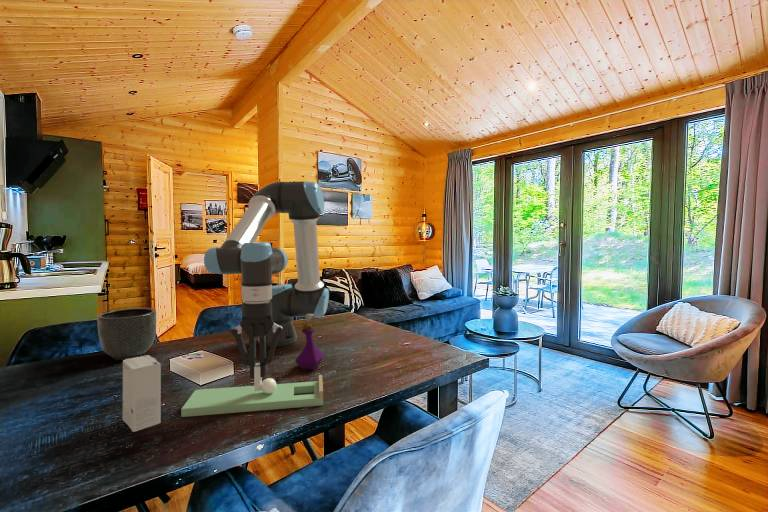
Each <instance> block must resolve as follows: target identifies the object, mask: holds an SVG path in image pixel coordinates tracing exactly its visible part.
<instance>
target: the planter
mask: <svg viewBox="0 0 768 512" xmlns="http://www.w3.org/2000/svg"><path fill="white" fill-rule="evenodd" d="M96 321H97V333H98V338H99V339H98V340H99V343H100V346H101V348H102V350H103V352H104V353H105V354H107V355H108V356H110V357H112V358H113V360H114V359H117V360H123V359H130V358H135V357H139V356H141V355H143V354H144V355H146V352H147V351H148V350H149V349H151V347H152V346H153V345H154V341H155V339H156V335H157V334H156V333H157V323H158V322H157V321H158V320H157V310H156V309H154V308H151V307H150V308H148V307H145V308H144V307H137V308H124V309H123V308H122V309H117V310H111V311H107V312H102V313H100V314H98V315H97V319H96ZM144 355H143V356H144ZM117 360H116V361H117Z"/></svg>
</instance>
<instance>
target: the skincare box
mask: <svg viewBox="0 0 768 512" xmlns="http://www.w3.org/2000/svg"><path fill="white" fill-rule="evenodd" d="M161 365H162V364H161V362H159V361H158V360H157V359H156V358H155V357H152V356H151V355H149V354H147V355H146V354H144V355H143V356H140V357H135V358H130V359H125V360H123V361H122V421H123V422H124V423H125V424H126V425H127V426H128V427H129V429H130V430H131V432H133V433H134V432H138V431H141V430H144V429H147V428H150V427H153V426H156V425H159V424H161V423H162V421H161V417H162V416H161V415H162V413H161V411H162V410H161V408H162V407H161V405H162V403H161V398H162V397H161V395H162V394H161V391H162V390H161V384H162V381H161V379H162V376H161V375H162V370H161V369H162V366H161Z"/></svg>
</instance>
